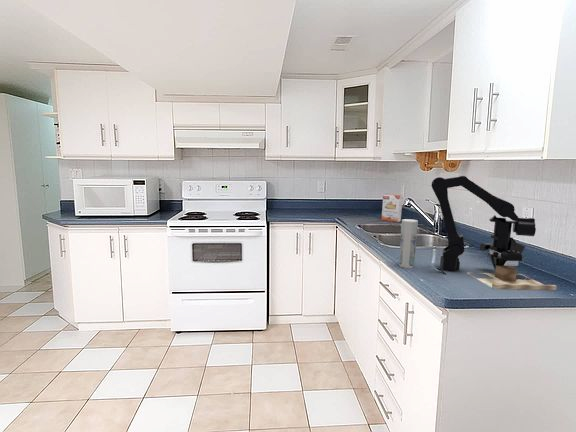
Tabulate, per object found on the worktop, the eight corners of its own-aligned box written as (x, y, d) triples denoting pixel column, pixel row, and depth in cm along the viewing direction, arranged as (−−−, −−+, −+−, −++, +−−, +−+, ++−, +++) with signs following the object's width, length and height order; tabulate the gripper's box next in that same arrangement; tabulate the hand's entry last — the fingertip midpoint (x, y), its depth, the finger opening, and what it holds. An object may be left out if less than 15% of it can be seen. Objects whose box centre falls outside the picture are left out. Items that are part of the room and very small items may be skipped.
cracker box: (381, 220, 293) (382, 194, 290) (384, 219, 298) (386, 193, 295) (397, 222, 284) (399, 195, 281) (401, 221, 289) (402, 195, 286)
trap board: (493, 291, 127) (493, 284, 126) (466, 275, 146) (466, 269, 145) (555, 293, 127) (556, 285, 127) (520, 276, 146) (521, 270, 146)
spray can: (400, 263, 161) (403, 218, 159) (415, 265, 158) (419, 220, 156) (397, 266, 156) (400, 220, 153) (412, 269, 153) (416, 221, 150)
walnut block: (502, 280, 136) (504, 269, 135) (494, 276, 141) (496, 265, 140) (515, 281, 136) (517, 269, 135) (507, 277, 141) (508, 265, 140)
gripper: (539, 239, 132) (534, 280, 134) (507, 230, 150) (503, 266, 153) (509, 238, 132) (504, 280, 134) (480, 229, 150) (477, 266, 152)
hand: (497, 273), depth 143 cm, fingers closed
